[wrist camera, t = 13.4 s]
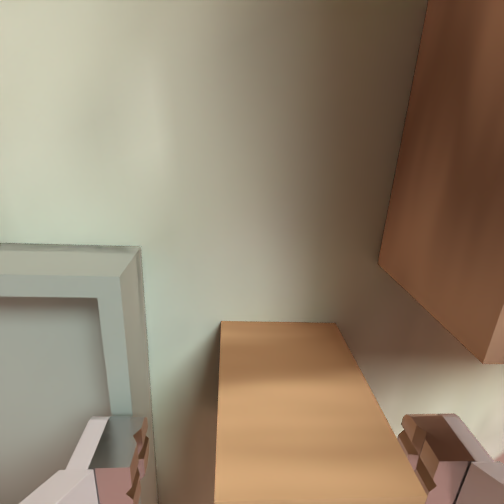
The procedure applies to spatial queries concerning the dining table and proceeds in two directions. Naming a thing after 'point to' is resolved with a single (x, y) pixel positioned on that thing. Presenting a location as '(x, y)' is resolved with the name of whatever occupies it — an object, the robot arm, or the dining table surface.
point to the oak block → (302, 422)
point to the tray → (68, 356)
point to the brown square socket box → (454, 177)
